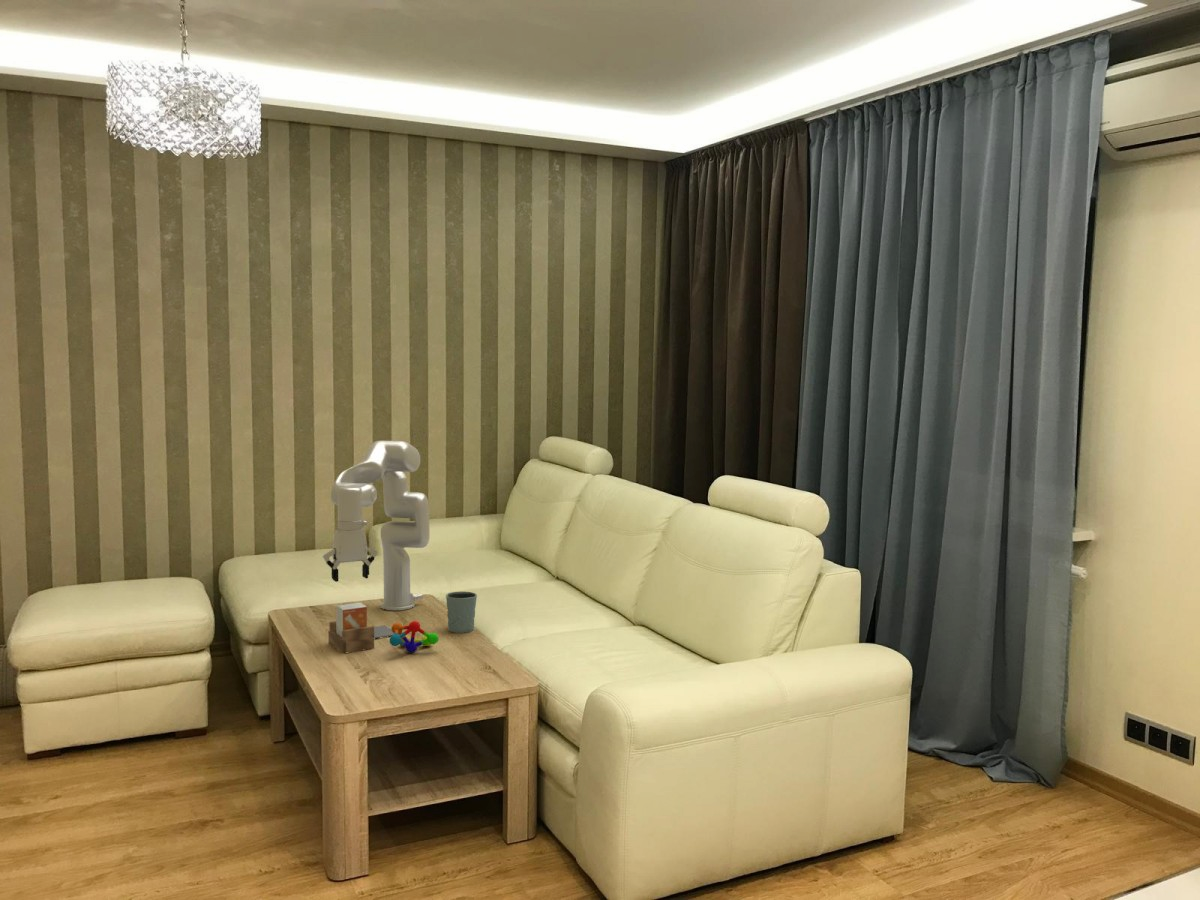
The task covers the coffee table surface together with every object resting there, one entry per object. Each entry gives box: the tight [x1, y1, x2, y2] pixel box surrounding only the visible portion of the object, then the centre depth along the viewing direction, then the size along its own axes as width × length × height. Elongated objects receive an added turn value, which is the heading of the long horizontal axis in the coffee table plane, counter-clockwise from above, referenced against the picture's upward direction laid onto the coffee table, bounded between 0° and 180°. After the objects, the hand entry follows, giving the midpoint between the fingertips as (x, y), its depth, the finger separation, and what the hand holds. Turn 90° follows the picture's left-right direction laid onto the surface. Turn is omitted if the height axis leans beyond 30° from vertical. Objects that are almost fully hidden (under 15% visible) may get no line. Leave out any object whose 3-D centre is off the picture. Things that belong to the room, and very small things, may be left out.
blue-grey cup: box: [445, 591, 478, 634], centre depth 346 cm, size 10×10×12 cm
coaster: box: [374, 625, 394, 639], centre depth 340 cm, size 12×12×1 cm
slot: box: [327, 620, 375, 654], centre depth 326 cm, size 10×13×7 cm
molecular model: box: [389, 620, 439, 653], centre depth 322 cm, size 15×10×15 cm
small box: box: [335, 602, 368, 637], centre depth 326 cm, size 8×6×13 cm
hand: (350, 579), depth 324 cm, fingers open, 9 cm apart
